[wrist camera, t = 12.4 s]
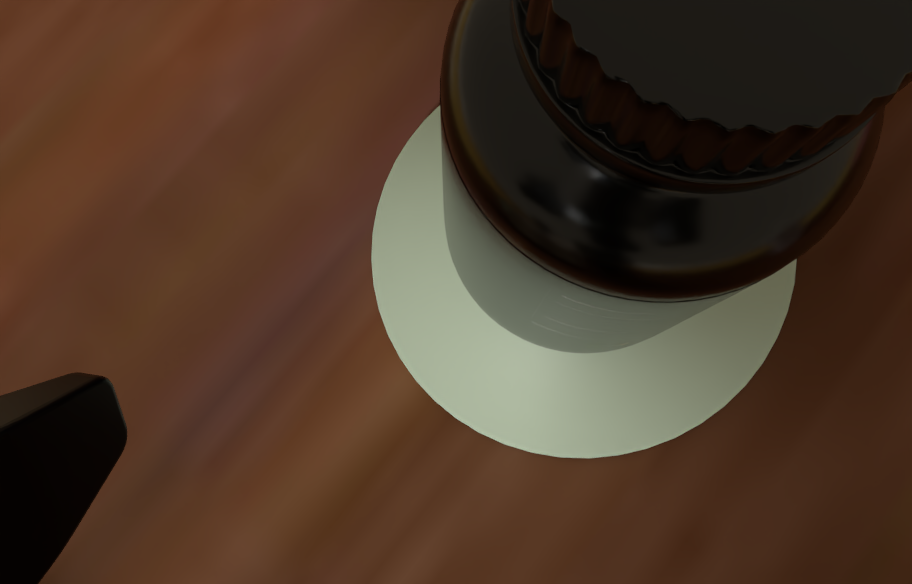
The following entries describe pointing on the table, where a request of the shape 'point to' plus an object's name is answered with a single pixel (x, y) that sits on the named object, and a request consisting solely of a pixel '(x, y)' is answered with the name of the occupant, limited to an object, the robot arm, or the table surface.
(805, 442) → the table surface
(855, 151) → the supplement bottle
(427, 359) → the green pad
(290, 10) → the table surface
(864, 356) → the table surface
